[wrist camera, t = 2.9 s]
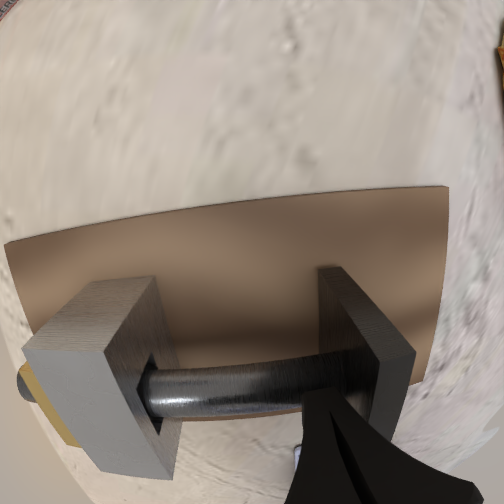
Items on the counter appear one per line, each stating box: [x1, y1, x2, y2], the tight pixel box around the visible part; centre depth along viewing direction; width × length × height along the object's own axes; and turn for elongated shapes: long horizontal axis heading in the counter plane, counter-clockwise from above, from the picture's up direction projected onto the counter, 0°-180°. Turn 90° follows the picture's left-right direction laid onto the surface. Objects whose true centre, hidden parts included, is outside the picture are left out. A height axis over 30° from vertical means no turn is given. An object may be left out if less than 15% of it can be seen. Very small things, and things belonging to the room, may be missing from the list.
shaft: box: [17, 266, 417, 442], centre depth 12 cm, size 7×17×7 cm, turn 96°
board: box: [4, 186, 449, 421], centre depth 16 cm, size 14×27×1 cm, turn 96°
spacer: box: [19, 361, 82, 448], centre depth 12 cm, size 5×1×5 cm, turn 6°
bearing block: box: [21, 275, 183, 480], centre depth 12 cm, size 8×4×7 cm, turn 6°
